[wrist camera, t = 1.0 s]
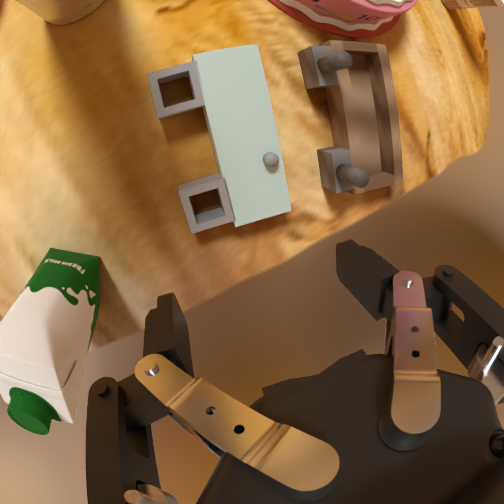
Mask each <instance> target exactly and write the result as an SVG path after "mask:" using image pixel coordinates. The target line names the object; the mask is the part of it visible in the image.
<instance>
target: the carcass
mask: <svg viewBox="0 0 504 504" xmlns="http://www.w3.org/2000/svg"><path fill="white" fill-rule="evenodd" d="M298 56H299V60H300V65H301V69H302V74H303V78H304V83H305V87H306V89H312V88H324V89H325V94H326V100H327V105H328V111H329V117H330V123H331V129H332V135H333V142H334V147H329V148H324V149H318V150H317V154H318V161H319V168H320V175H321V182H322V187H324V188H326V189H328V190H330V191H332V192H334V193H336V194H337V193H340V192H344V191H347V192H350V193H352V194H354V195H355V194H359V193H363V192H367V191H371V190H375V189H378V188H382V187H386V186H390V185H394V184H398V183H402V182H403V169H402V151H401V138H400V127H399V118H398V110H397V103H396V96H395V90H394V84H393V78H392V73H391V68H390V63H389V58H388V54H387V49H386V45H385V44H377V43H368V42H356V41H339V40H329V41H327V42H325V43H322V44H320V45H318V46H310V47H308V48H306V49H304V50H302V51H300V52H298Z"/></svg>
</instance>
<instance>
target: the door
mask: <svg viewBox="0 0 504 504" xmlns="http://www.w3.org/2000/svg"><path fill="white" fill-rule="evenodd" d="M187 76H188V79H189V83H190V88H191V92H192V96H193V100H190V101H186V102H183V103H179V104H176V105H172V106H169V107H166V108H165V105H164V101H163V97H162V93H161V89H160V85H159V84H162V83H166V82H169V81H173V80H176V79H180V78H184V77H187ZM147 78H148V82H149V86H150V90H151V94H152V99H153V103H154V107H155V110H156V114H157V118H158V119H164V118H167V117H170V116H173V115H177V114H180V113H184V112H187V111H191V110H195V109H198V108H203V112H204V116H205V120H206V124H207V128H208V132H209V136H210V140H211V144H212V148H213V152H214V156H215V160H216V164H217V168H218V172H219V173H217V174H213V175H210V176H206V177H203V178H199V179H196V180H193V181H190V182H186V183H183V184H180V185H178V193H179V196H180V199H181V202H182V205H183V209H184V212H185V215H186V218H187V221H188V224H189V227H190V230H191V234H193V233H196V232H200V231H203V230H206V229H209V228H212V227H216V226H219V225H222V224H226V223H229V222H233V223H234V225H235V227H238V226H241V225H244V224H248V223H251V222H255V221H258V220H261V219H265V218H268V217H272V216H275V215H279V214H282V213H286V212H289V211H291V205H290V199H289V193H288V188H287V182H286V176H285V171H284V165H283V160H282V155H281V149H280V144H279V139H278V134H277V129H276V124H275V119H274V115H273V110H272V105H271V101H270V96H269V92H268V87H267V83H266V78H265V74H264V70H263V66H262V61H261V57H260V53H259V49H258V45H257V44H253V45H245V46H238V47H231V48H225V49H219V50H214V51H209V52H204V53H199V54H195V55H193V57H192V62H189V63H185V64H181V65H177V66H173V67H170V68H166V69H163V70H159V71H156V72H153V73H150V74H147ZM213 189H216V190H217V194H218V198H219V201H220V205H221V207H219V208H216V209H213V210H209V211H206V212H203V213H199V214H196V215H195V213H194V210H193V206H192V203H191V200H190V196H193V195H196V194H199V193H202V192H206V191H209V190H213Z"/></svg>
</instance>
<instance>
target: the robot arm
mask: <svg viewBox="0 0 504 504" xmlns="http://www.w3.org/2000/svg"><path fill="white" fill-rule="evenodd" d="M16 1H18V2H19V3H21V4H22V5H24V6H25V7H27V8H28V9H30V10H31V11H33V12H34V13H36V14H37V15H39V16H40V17H41V18H43V19H44V20H46V21H47V22H49V23H51V24H55V25H65V24H69V23H72V22H75V21H77V20H80V19H81V18H83V17H85V16H87V15H88V14H90V13H91V12H93V11H94V10H95V9H96V8H97V7H99V6H100V5H101V4H102V3H103V1H104V0H16ZM336 269H337V275H338V278H339V280H340V281H341V283H342V284H343V285H344V286H345V287H346V288H347V289H348V290H349V291H350V292H351V293H352V294H353V295H354V297H355V298H356V299H357V300H358V301H359V302H360V303H361V304H362V305H363V306H364V307H365V309H366V310H367V311H368V312H369V313H370V314H371V315H372V316H373V318H374V319H375V320H376V321H377V320H379V319H381V318H383V317H386V319H387V321H386V333H385V347H384V354H372V355H366V354H365V352H364V351H363V350H362V349H361V350H359V351H357V352H355V353H352V354H350V355H348V356H346V357H343V358H341V359H339V360H338V361H337V362H335V363H334V364H333V365H331V366H330V367H328V368H327V369H325V370H324V371H322V372H321V373H320V374H318V375H314V376H307V377H301V378H295V379H288V380H285V381H282V382H279V383H276V384H273V385H270V386H267V387H264V388H262V390H263V393H264V396H262V397H261V398H259V399H258V400H256V401H255V402H254V403H253V404H252V405H250V406H249V407H247V406H245V405H244V404H242V403H240V402H239V401H237V400H235V399H234V398H232V397H230V396H229V395H227V394H226V393H224V392H222V391H220V390H219V389H217V388H216V387H215V386H213V385H211V384H210V383H208V382H207V381H205V380H204V379H202V378H197V379H194V373H193V366H192V358H191V351H190V342H189V334H188V327H187V323H186V320H185V318H184V315H183V313H182V310H181V308H180V306H179V304H178V301H177V299H176V297H175V294H174V293H173V292H172V293H169V294H165V295H162V296H158V298H157V308H155V309H152V310H150V311H149V313H148V315H147V317H146V320H145V335H144V349H143V358H142V359H141V360H140V361H139V362H138V363H137V365H136V367H135V371H134V372H135V373H134V374H132V375H131V376H129V377H127V378H125V379H123V380H121V381H119V382H117V381H116V380H115V379H113V378H111V377H103V378H100V379H98V380H97V381H95V383H93V384H92V386H91V388H90V390H89V395H88V407H87V422H86V423H87V424H86V482H87V497H88V504H179V502H178V501H177V499H176V498H175V497H174V496H173V495H171V494H170V493H168V492H165V491H163V490H161V487H160V483H159V477H158V471H157V465H156V460H155V453H154V446H153V439H152V431H151V423H153V422H155V421H157V420H159V419H161V418H163V417H165V416H167V415H168V416H169V417H171V418H172V419H173V420H174V421H175V422H176V423H178V424H179V425H180V426H181V427H182V428H183V429H185V430H186V431H187V432H188V433H189V434H191V435H192V436H193V437H195V438H196V439H197V440H198V441H199V442H200V443H201V444H203V445H204V446H205V447H206V448H208V449H209V450H210V451H211V452H213V453H214V454H215V455H217V456H218V457H219V458H220V460H219V462H218V464H217V466H216V468H215V470H214V472H213V474H212V476H211V477H210V479H209V481H208V483H207V485H206V487H205V488H204V490H203V492H202V494H201V496H200V498H199V499H198V501H197V503H196V504H504V430H503V428H502V426H501V424H500V421H499V419H498V415H497V412H496V407H495V405H496V404H497V403H498V404H499V403H503V402H504V309H503V308H502V307H501V306H500V305H499V304H498V303H497V302H496V301H495V300H493V299H492V298H491V297H490V296H489V295H488V294H487V293H485V292H484V291H483V290H482V289H481V288H480V287H478V286H477V285H476V284H475V283H474V282H472V281H471V280H470V279H469V278H468V277H466V276H465V275H464V274H463V273H461V272H460V271H459V270H458V269H456V268H455V267H453V266H450V265H440V266H438V267H437V268H436V269H435V273H434V276H432V277H426V278H421V277H420V276H419V275H418V274H416V273H414V272H411V271H402V272H400V271H399V270H397V269H396V268H395V267H394V266H392V265H391V264H390V263H389V262H387V261H386V260H385V259H383V258H382V257H381V256H380V255H378V254H377V253H376V252H374V251H373V250H372V249H370V248H367V247H364V246H359V245H358V244H357V243H355V242H354V241H353V240H351V239H350V240H347V241H344V242H341V243H338V244H337V245H336ZM453 303H454V304H455V305H456V306H457V307H458V308H459V309H460V310H461V311H462V312H463V314H464V318H465V320H464V322H463V321H462V320H461V319H460V318H459V317H458V316H457V315H456V314H455V313H454V312H453V311H452V310H451V309H452V306H453ZM434 331H435V332H436V334H437V335H438V336H439V337H440V338H441V339H442V340H443V342H444V343H445V344H446V345H447V346H448V347H449V348H450V349H451V351H452V352H453V353H454V354H455V355H456V357H457V358H458V359H459V360H460V361H461V363H462V364H463V365H464V366H465V368H466V369H467V370H468V376H469V377H465V376H461V375H458V374H454V373H450V372H446V371H443V370H439V369H437V361H436V347H435V336H434Z"/></svg>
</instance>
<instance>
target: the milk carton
mask: <svg viewBox="0 0 504 504" xmlns="http://www.w3.org/2000/svg"><path fill="white" fill-rule="evenodd" d="M99 265H100V257H97V256H92V255H86V254H80V253H75V252H70V251H64V250H59V249H54V248H50V249H49V251H48V253H47V254H46V256H45V257H44V259H43V260H42V262H41V263H40V265H39V267H38V268H37V270H36V272H35V273H34V275H33V276H32V278H31V279H30V280H29V282H28V283H27V284H26V286H25V287H24V289H23V290H22V292H21V293H20V294H19V296H18V297H17V299H16V300H15V302H14V303H13V305H12V306H11V308H10V309H9V311H8V312H7V314H6V316H5V317H4V319H3V320H2V321H1V322H0V393H1V395H2V397H3V399H4V400H5V402H6V403H8V404H9V406H8V410H7V412H8V414H9V416H10V417H11V419H12V420H13V421H15V422H16V423H17V424H18V425H20V426H21V427H23V428H24V429H27V430H28V431H30V432H33V433H36V434H40V435H46V434H48V433H49V428H50V424H51V420H52V419H54V420H57V421H65V422H68V423H74V415H75V408H76V403H77V397H78V392H79V386H80V381H81V377H82V373H83V369H84V365H85V361H86V357H87V353H88V349H89V345H90V342H91V338H92V334H93V331H94V328H95V324H96V320H97V316H98V309H99Z"/></svg>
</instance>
